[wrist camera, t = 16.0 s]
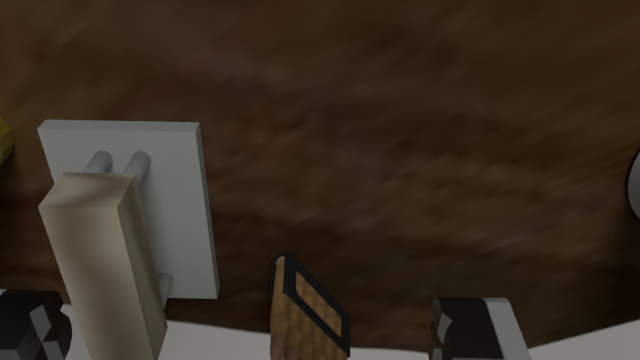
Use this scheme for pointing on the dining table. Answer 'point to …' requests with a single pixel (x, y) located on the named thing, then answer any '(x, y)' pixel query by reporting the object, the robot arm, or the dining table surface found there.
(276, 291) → the ammunition clip
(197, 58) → the dining table surface
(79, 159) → the peg stand
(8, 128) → the book
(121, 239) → the tan bar
